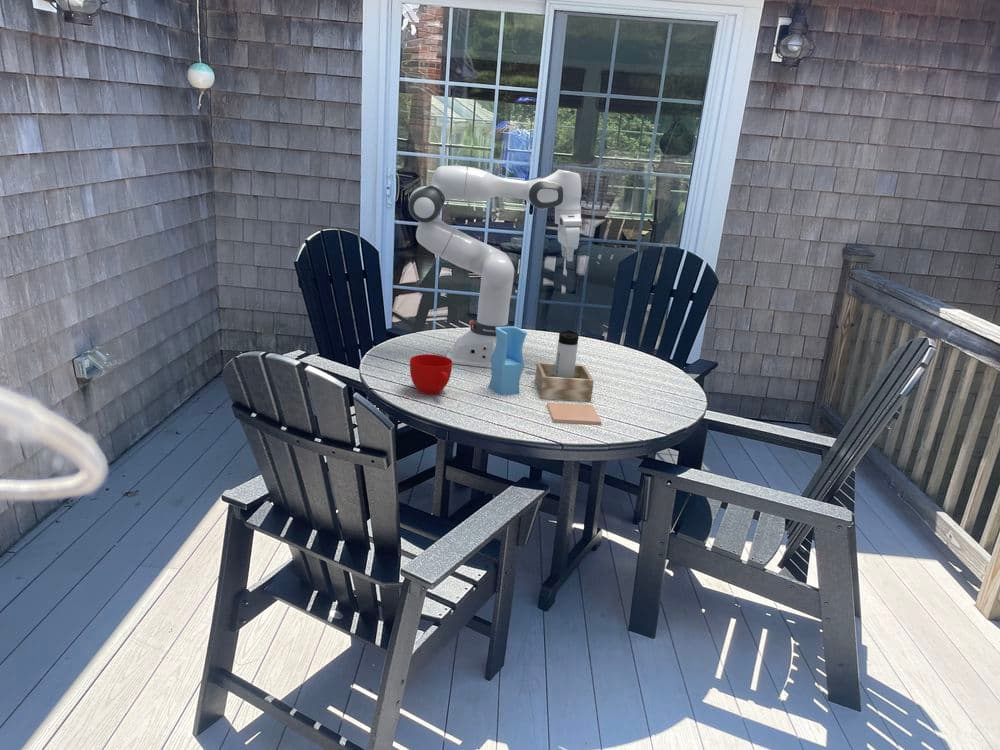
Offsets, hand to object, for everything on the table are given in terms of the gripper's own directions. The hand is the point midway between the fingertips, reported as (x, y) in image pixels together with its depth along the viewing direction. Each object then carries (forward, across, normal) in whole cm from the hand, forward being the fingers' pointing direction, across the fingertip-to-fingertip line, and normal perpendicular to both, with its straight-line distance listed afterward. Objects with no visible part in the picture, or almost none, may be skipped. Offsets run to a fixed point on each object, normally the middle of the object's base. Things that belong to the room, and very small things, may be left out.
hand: (567, 258), depth 251 cm
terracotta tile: (+38, +50, -7) cm, 63 cm away
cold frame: (+38, +29, -6) cm, 48 cm away
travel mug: (+39, +29, -6) cm, 49 cm away
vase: (+37, +30, -25) cm, 54 cm away
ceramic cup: (+34, +37, -48) cm, 70 cm away
